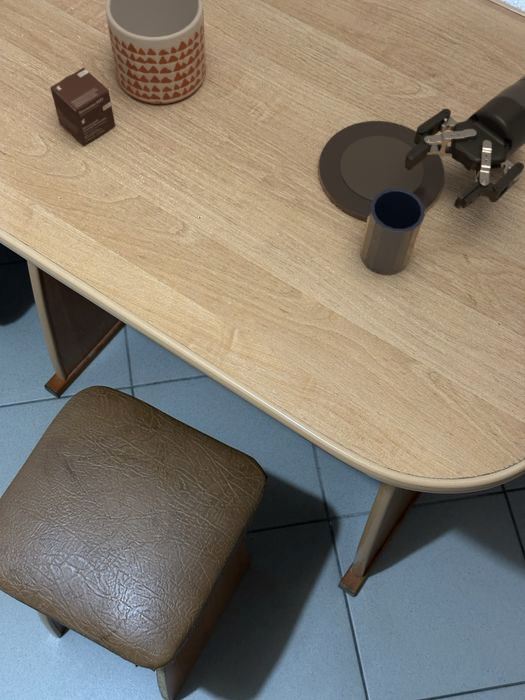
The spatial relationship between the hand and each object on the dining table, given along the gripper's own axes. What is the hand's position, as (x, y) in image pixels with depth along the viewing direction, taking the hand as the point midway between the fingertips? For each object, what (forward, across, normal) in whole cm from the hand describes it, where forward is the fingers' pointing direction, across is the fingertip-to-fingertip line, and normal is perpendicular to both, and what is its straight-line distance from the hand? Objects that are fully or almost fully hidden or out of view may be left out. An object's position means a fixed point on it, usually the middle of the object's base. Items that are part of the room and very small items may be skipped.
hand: (432, 184), depth 108 cm
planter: (+7, -46, +10) cm, 48 cm away
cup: (+7, 0, +9) cm, 12 cm away
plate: (-3, -10, +9) cm, 14 cm away
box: (+22, -45, +10) cm, 51 cm away
